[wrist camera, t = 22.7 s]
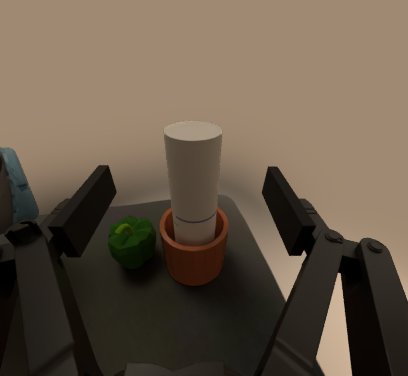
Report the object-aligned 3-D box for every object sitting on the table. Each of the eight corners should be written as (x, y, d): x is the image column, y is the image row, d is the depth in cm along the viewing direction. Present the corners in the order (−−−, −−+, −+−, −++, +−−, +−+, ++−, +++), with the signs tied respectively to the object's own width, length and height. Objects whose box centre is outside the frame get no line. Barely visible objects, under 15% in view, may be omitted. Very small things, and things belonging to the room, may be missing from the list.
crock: (153, 257, 39) (145, 222, 33) (195, 226, 46) (194, 193, 40) (194, 300, 32) (193, 265, 26) (235, 257, 39) (242, 221, 33)
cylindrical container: (199, 279, 34) (200, 146, 20) (169, 258, 37) (150, 131, 23) (220, 250, 39) (232, 127, 24) (191, 235, 42) (187, 117, 28)
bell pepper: (142, 233, 44) (134, 198, 38) (166, 254, 39) (161, 218, 34) (107, 257, 38) (90, 222, 33) (129, 285, 34) (115, 249, 28)
